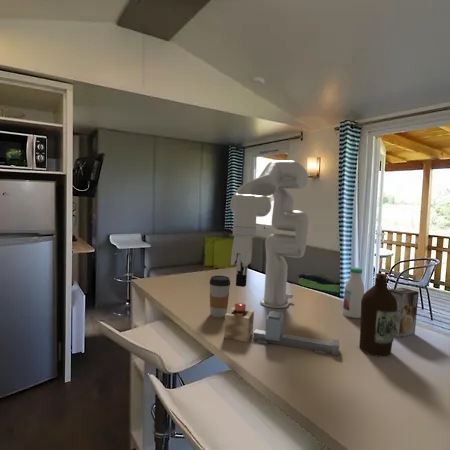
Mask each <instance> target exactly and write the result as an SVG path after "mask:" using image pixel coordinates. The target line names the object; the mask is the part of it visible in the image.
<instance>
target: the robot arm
mask: <svg viewBox="0 0 450 450" xmlns="http://www.w3.org/2000/svg"><path fill="white" fill-rule="evenodd" d="M308 184H309V174H308V171H307V169H306V168H305V167H304V166H303V165H302V164H301V163H300V162H299V161H296V160H272V161H270V162H268V163H267V165H266V166H265V168H264V169H263V170H262V172H261V173H260V175H259V176H258V177H256V178H254V179H251V180H250V181H247V182H245V183H244V184H242V185H240V186H239V187H238V188H237V189H236V190H235V192H234V194H233V195H232V197H231V200H230V202H229V203H230V204H229V208H230V210H231V211H230V212H231V213H233V221H232V223H233V226H232V236H234V237H233V241H232V247H231V255H230V256H231V257H230V265H231V266H232V267H234V266H236V267H235V271H236V272H235V273H236V277H235V286H236V287H240V288H241V287H243V288H245V287H246V286H247V277H248V276H247V273H248V265H250V264H251V263H252V258H253V257H252V255H253V238H256V229H257V228H256V226H257V217H259V218H263V217H266V216H267V215H268V214H270V213H271V209H272V207H273V209H272V214H271V227H272V229H273V230H276V231H279V232H289V233H295V235H293V234H285V233H284V234H283V233H270V234H269V235H267V237H266V238H265V242H264V246H265V247H264V248H265V257H266V258H265V259H266V260H265V278H264V279H265V280H264V294H263V297H262V298H261V299H260V304H261V305H262V306H264V307H267V308H271V309H285V308H287V307H289V306H290V302H289V301H288V300H289V299H292V298H294V295H293V293H287V286H288V285H287V284H288V268H289V267H288V263H287V261H286V259H285V257H289V258H296V259H298V258H300V259H301V258H302V257H304V255H305V253H306V248H307V239H308V233H309V232H308V231H309V215H308V214H307V213H306V211H302V210H294V209H293V208H294V206H293V205H294V197H293V195H292V194H291V192H290V191H289V190H290V189H291V190H292V189H295V190H302V189H303V190H304V189H305V188H306V187H307V185H308ZM288 189H289V190H288ZM271 195H272V196H273V206H272V203H271V199H270V198H269V196H271Z"/></svg>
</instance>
